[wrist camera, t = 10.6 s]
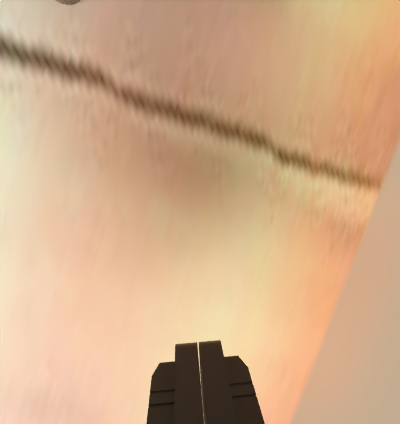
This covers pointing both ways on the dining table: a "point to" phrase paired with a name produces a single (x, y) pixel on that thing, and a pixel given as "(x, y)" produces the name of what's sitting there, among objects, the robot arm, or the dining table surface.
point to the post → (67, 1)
